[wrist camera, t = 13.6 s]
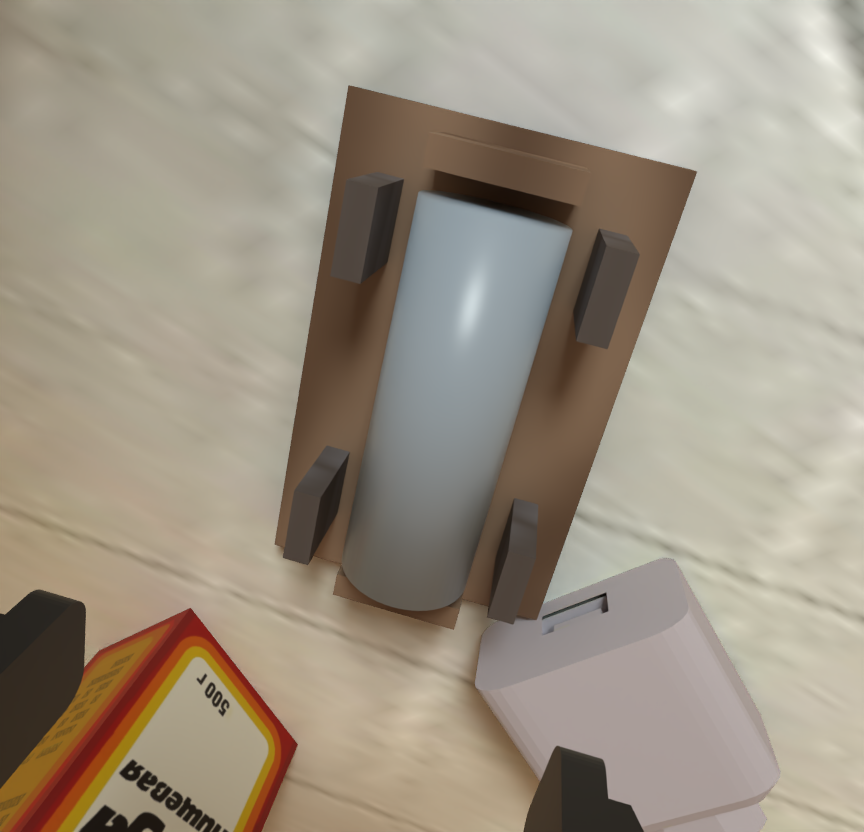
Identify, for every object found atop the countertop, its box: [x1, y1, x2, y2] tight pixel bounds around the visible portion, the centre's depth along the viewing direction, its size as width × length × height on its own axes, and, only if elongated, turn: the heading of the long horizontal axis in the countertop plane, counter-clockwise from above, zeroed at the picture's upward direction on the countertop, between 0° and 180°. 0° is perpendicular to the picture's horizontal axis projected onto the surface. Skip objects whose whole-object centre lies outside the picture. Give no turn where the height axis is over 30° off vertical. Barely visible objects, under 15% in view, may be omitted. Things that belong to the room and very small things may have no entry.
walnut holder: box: [275, 86, 697, 630], centre depth 26 cm, size 12×19×5 cm, turn 167°
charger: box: [475, 558, 780, 832], centre depth 31 cm, size 5×9×15 cm
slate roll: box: [342, 190, 573, 611], centre depth 25 cm, size 14×5×5 cm, turn 167°
